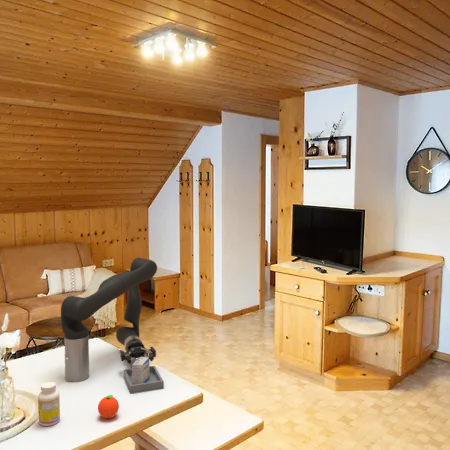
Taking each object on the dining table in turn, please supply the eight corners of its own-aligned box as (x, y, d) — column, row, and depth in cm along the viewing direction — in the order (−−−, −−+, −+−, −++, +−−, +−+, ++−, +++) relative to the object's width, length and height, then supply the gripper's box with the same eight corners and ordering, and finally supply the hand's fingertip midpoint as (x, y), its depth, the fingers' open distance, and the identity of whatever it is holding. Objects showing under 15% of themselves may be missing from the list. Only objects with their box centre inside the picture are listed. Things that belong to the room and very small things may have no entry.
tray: (130, 393, 177) (130, 386, 177) (123, 377, 191) (123, 369, 191) (163, 388, 181) (163, 381, 181) (154, 372, 196) (154, 365, 196)
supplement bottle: (42, 417, 159) (41, 380, 158) (62, 416, 160) (61, 380, 159) (36, 427, 153) (34, 389, 151) (57, 426, 153) (56, 388, 152)
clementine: (102, 409, 165) (102, 390, 164) (122, 410, 164) (122, 391, 163) (95, 421, 157) (94, 401, 156) (115, 422, 156) (115, 401, 156)
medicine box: (143, 386, 182) (142, 365, 181) (132, 385, 182) (131, 364, 181) (149, 378, 189) (149, 357, 188) (139, 377, 190) (139, 356, 189)
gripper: (117, 340, 201) (123, 353, 186) (150, 336, 206) (158, 349, 191) (117, 357, 202) (123, 371, 186) (150, 352, 207) (158, 366, 192)
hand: (141, 360), depth 189 cm, fingers open, 8 cm apart
